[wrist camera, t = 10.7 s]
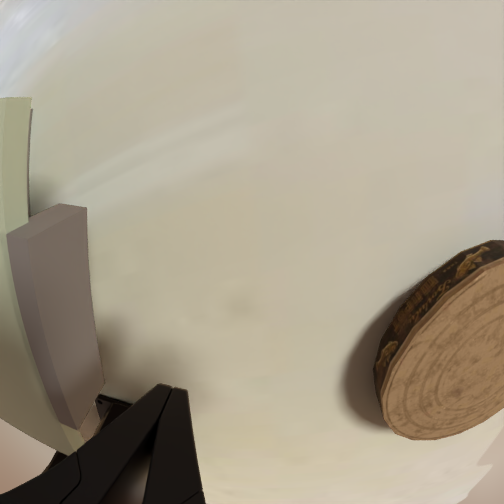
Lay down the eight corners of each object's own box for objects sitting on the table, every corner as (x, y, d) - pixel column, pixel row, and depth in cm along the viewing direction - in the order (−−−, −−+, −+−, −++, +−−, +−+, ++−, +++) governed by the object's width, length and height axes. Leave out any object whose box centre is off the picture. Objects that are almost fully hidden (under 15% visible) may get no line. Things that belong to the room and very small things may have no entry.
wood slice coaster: (509, 186, 13) (540, 198, 11) (552, 324, 17) (569, 342, 14) (324, 354, 18) (330, 388, 16) (423, 433, 22) (432, 457, 19)
